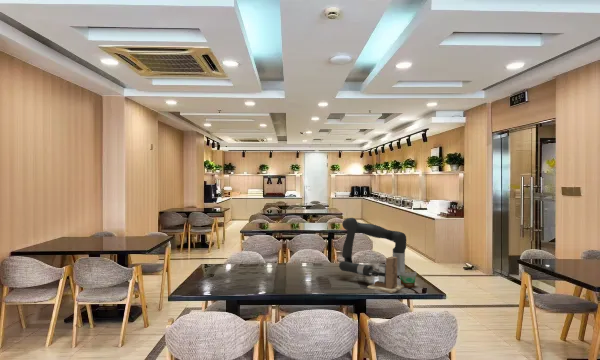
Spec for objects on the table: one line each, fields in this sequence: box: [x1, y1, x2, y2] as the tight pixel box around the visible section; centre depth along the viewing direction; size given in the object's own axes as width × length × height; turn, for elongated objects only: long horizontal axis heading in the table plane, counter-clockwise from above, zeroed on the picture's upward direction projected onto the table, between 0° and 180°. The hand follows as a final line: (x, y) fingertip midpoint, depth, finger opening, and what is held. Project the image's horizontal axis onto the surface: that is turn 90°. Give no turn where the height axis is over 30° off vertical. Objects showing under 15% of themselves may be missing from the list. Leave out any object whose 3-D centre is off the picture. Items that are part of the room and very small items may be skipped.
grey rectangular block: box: [378, 263, 386, 284], centre depth 258 cm, size 5×5×13 cm
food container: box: [399, 271, 417, 289], centre depth 260 cm, size 12×6×10 cm, turn 101°
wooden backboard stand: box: [366, 256, 405, 294], centre depth 257 cm, size 18×18×21 cm
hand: (386, 274), depth 257 cm, fingers closed on grey rectangular block, 4 cm apart
